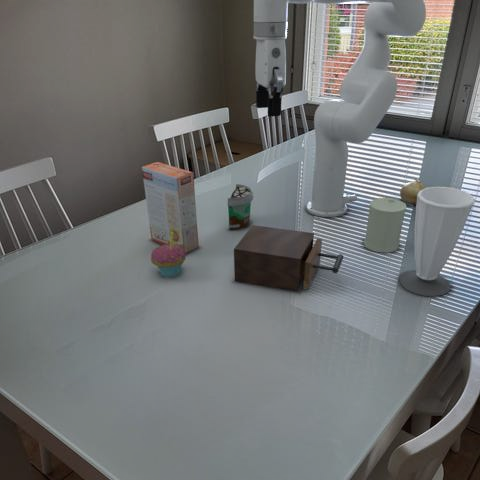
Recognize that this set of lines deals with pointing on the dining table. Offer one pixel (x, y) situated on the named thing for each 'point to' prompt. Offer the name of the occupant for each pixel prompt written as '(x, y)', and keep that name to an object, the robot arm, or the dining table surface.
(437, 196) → the cup
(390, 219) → the can
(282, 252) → the cabinet
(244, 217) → the food container
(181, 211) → the cracker box
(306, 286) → the drawer
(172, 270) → the cupcake
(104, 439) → the dining table surface
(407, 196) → the onion
